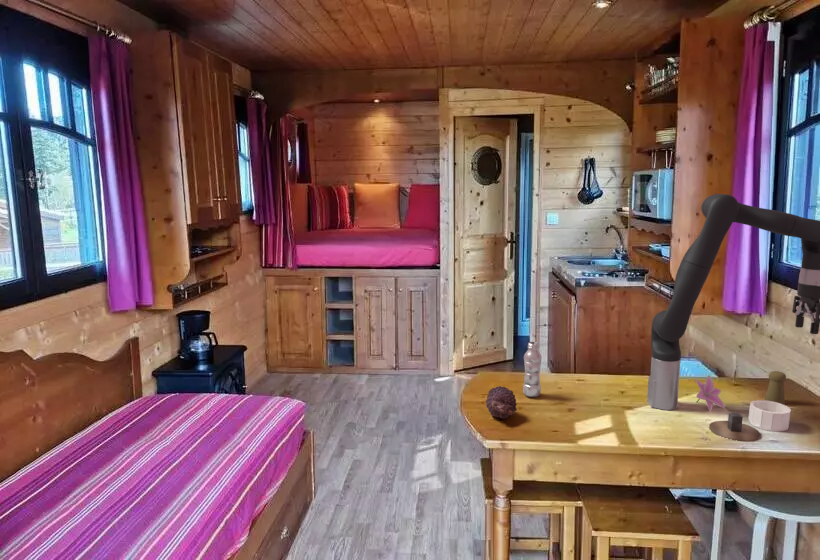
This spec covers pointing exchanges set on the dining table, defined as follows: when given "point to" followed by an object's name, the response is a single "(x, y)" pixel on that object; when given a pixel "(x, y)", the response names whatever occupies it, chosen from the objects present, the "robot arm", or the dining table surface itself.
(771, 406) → the ceramic bowl
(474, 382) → the dining table surface
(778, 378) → the cork
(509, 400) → the pine cone
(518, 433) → the dining table surface
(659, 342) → the robot arm
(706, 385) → the lily
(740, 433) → the walnut lid
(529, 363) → the plastic bottle
